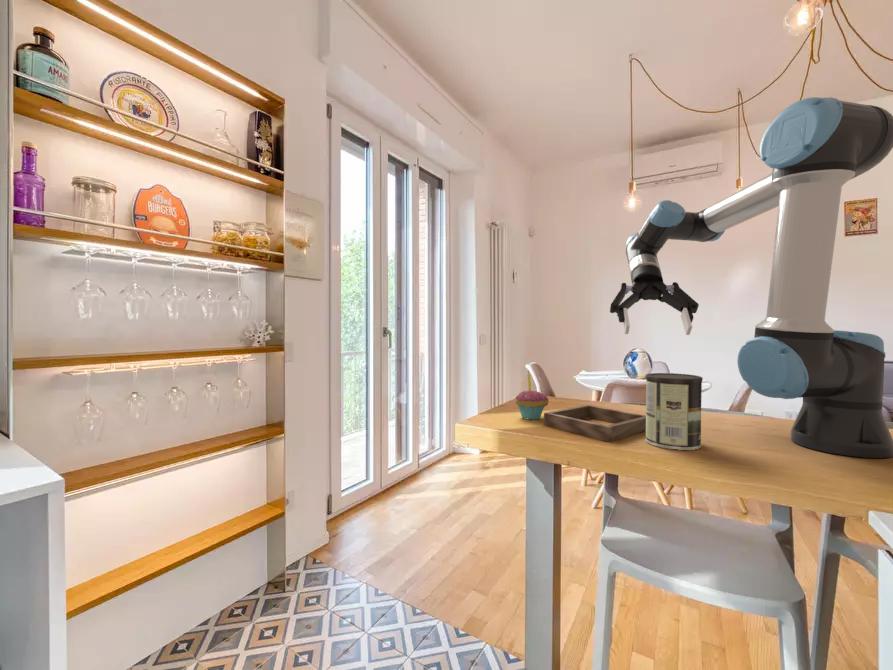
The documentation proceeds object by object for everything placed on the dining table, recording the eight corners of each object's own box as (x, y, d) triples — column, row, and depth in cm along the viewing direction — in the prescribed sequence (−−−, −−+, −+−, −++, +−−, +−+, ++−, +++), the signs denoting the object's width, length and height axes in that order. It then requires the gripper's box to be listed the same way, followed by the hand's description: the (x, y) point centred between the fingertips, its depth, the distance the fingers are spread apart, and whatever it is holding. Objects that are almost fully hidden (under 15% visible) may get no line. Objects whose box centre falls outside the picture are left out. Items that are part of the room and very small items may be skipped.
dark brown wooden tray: (651, 429, 97) (651, 416, 97) (608, 441, 87) (608, 427, 87) (587, 415, 111) (587, 404, 111) (543, 425, 101) (544, 412, 101)
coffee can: (683, 436, 91) (684, 372, 91) (712, 451, 81) (714, 379, 81) (636, 436, 91) (637, 372, 91) (659, 450, 81) (660, 378, 81)
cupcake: (509, 415, 112) (509, 370, 112) (537, 413, 115) (538, 369, 114) (524, 422, 104) (525, 374, 104) (554, 420, 106) (555, 373, 106)
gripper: (692, 284, 114) (711, 341, 100) (596, 285, 120) (601, 340, 106) (700, 262, 109) (721, 319, 95) (598, 264, 115) (604, 319, 101)
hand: (657, 330), depth 100 cm, fingers open, 13 cm apart
